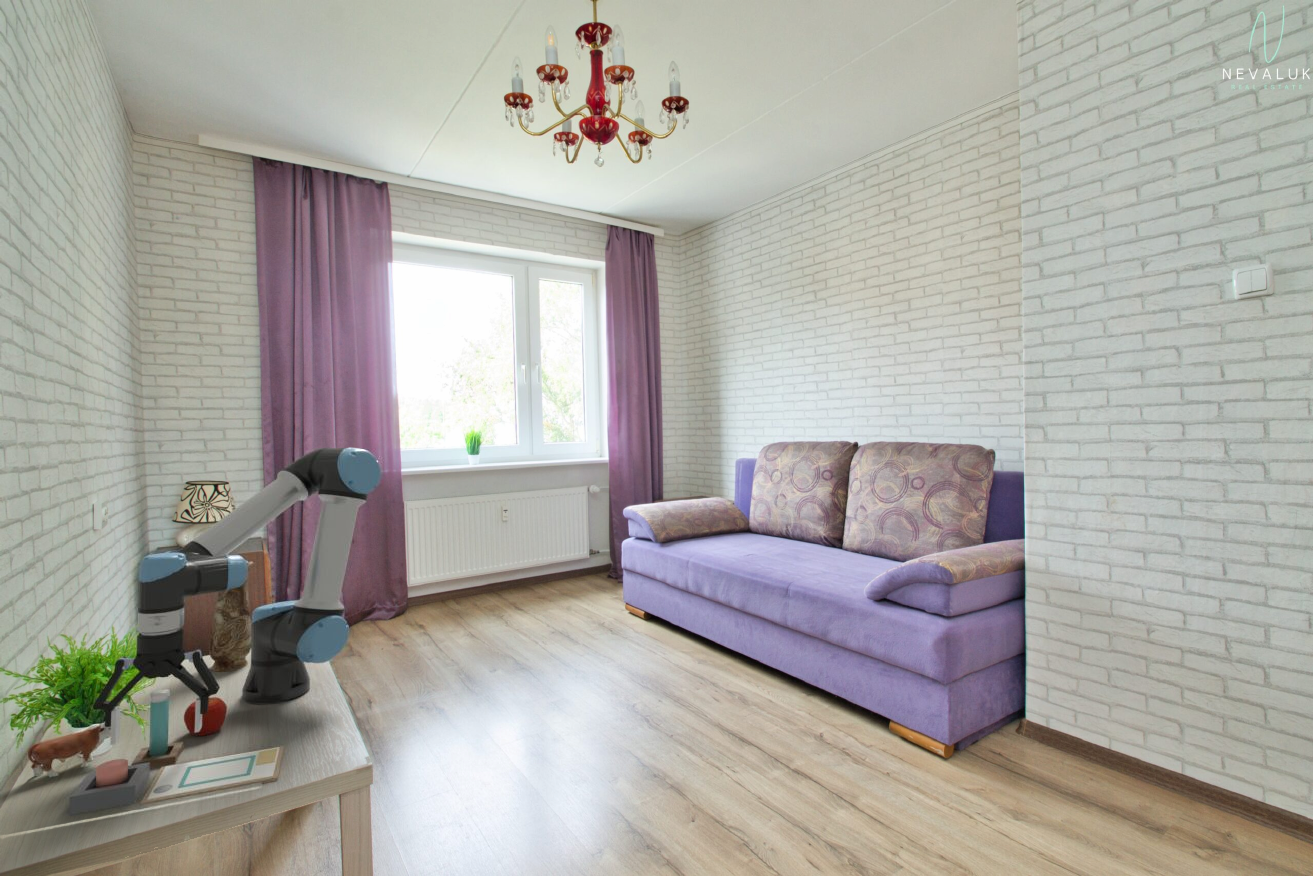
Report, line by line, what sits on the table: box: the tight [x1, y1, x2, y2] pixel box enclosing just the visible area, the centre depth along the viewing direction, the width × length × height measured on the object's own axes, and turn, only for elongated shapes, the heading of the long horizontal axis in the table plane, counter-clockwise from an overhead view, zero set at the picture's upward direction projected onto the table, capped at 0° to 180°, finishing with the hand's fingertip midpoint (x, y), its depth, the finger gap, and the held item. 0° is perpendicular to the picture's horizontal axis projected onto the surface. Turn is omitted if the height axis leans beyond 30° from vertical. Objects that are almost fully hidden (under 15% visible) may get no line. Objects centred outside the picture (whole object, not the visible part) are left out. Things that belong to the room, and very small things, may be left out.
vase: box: [208, 559, 254, 672], centre depth 184 cm, size 10×11×30 cm
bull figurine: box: [27, 721, 111, 778], centre depth 126 cm, size 4×13×8 cm, turn 138°
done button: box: [95, 758, 129, 788], centre depth 116 cm, size 4×4×3 cm
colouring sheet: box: [140, 745, 285, 805], centre depth 124 cm, size 14×21×1 cm, turn 116°
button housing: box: [69, 762, 151, 816], centre depth 116 cm, size 9×9×4 cm
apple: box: [183, 696, 228, 737], centre depth 142 cm, size 8×8×8 cm
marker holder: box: [130, 741, 184, 769], centre depth 129 cm, size 7×7×2 cm
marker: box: [148, 689, 171, 758], centre depth 129 cm, size 3×3×14 cm
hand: (157, 735), depth 129 cm, fingers open, 13 cm apart
